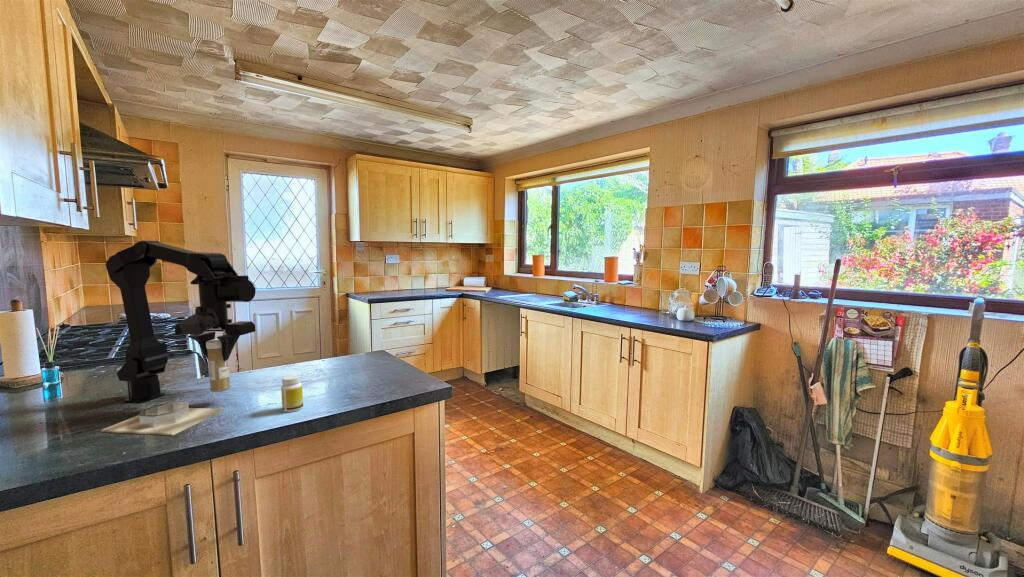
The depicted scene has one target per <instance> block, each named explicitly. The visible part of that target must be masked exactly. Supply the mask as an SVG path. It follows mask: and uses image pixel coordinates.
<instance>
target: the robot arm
mask: <svg viewBox="0 0 1024 577" xmlns="http://www.w3.org/2000/svg"><path fill="white" fill-rule="evenodd" d="M158 260H160V261H162V262H167V263H170V264H171V263H172V264H175V265H178V266H182V267H184V268H185V269H186V270H187V271H188V272H190V273H192V274H194V275H196V277H195V278H193V279H192V280H191V281H190V284H191V285H197V286H198V297H199V306H195V308H194V310H195V312H194V314H191V315H189V316H188V317H187V318H184V319H183V320H181V321H180V322H178V323H176V325H175V326H174V335H176V336H177V335H179V336H180V335H181V336H182V335H183V336H187V337H188V339H192V340H194V341H195V342H197V343H198V345H199V346H200V349H201V350H202V352H203V355H205V357H206V359H207V361H208V352H207V348H206V342H207V341H209V340H213V339H219V340H220V341H221V346H222V355H223V360H224V361H226V360H228V361H229V358H230V356H231V354H232V352H233V349H234V347H235V345H236V343H237V342H238V340H239V338H240V336H243V335H247V334H250V333H255V332H256V325H255V323H254V322H253V321H248V320H247V321H243V320H242V321H241V320H239V321H235V322H233V320H232V318H229V316H228V315H229V314H228V309H231V308H232V306H231V303H233V302H234V303H250V302H251V301H252V300H254V298H255V296H256V291H257V290H256V287H255V284H254V283H253V282H252V281H251V280H249V276H248V275H245V274H244V275H239V274H238V273H237V272H236V269H235V268H234V267H233V266H232V265H231V264H230V262H229V260H228V259H227V256H226V255H225V254H223V253H220V252H201V251H198V252H197V251H193V250H189V249H185V248H182V247H178V246H174V245H170V244H166V243H163V242H160V241H158V240H140V241H136V242H135V243H134V244H132V245H131V246H129V247H127V248H125V249H123V250H120V251H118V252H116V253H115V254H113V255H111V256H109V258H108V259H107V260H106V262H105V268H106V271H107V275H108V277H109V280H111V282H112V283H113V284H114V285H115V286H116V287H117V288H119V290H120V293H121V295H120V296H121V300H122V304H123V308H124V314H125V320H126V324H127V329H128V334H129V338H130V341H129V345H128V347H127V349H126V351H125V353H124V355H125V363H124V364H123V365H122V366H121V367H120V369H119V370H118V371H117V372H116V376H117V378H118V381H119V382H127V383H126V385H127V391H128V392H127V393H128V397H127V398H124V399H123V400H122V402H126V403H127V402H128V403H146V402H149V401H151V400H154V399H157V398H159V397H161V396H164V395H166V392H163V391H162V392H161V384H160V383H161V382H160V380H159V375H158V374H161V373H162V374H163V373H165V371H166V367H167V364H168V360H169V357H170V355H169V352H168V347H167V343H166V342H160V341H159V340H158V339H157V338H156V337H155V332H154V326H153V321H152V315H151V311H150V305H149V301H148V296H147V291H146V285H147V282H148V281H149V280H150V279H149V278H150V277H151V270H150V269H151V267H153V266H154V265H155V264H157V262H158ZM216 332H220V333H221V332H222V335H219V336H218V335H217V336H216Z"/></svg>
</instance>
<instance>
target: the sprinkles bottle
mask: <svg viewBox="0 0 1024 577" xmlns="http://www.w3.org/2000/svg"><path fill="white" fill-rule="evenodd" d="M206 348H207V352H208V360H207V365H208V377H209V385H210V388H209V391H210V392H212V393H221V392H225V391H227V390H229V389H230V388H231V384H230V383H231V382H230V370H229V369H230V368H229V367H230V366H229V359H228V360H226V361H224V360H223V355H222V346H221V341H220V340H219V339H218V338H215V339H213V340H209V341H207V342H206Z"/></svg>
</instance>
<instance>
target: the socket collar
mask: <svg viewBox="0 0 1024 577" xmlns="http://www.w3.org/2000/svg"><path fill="white" fill-rule="evenodd" d="M189 404H190V403H189V402H188V401H187V402H185V401H172V402H167V403H161V404H155V405H152V406H151V407H148V408H144V409H142V410H140V412H139V414H138V415H139V421H140V427H159V426H164V425H169V424H173V423H177V422H179V421H181V420H183V419H186V418H188V417H190V416H189V408H190V406H189Z"/></svg>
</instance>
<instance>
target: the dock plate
mask: <svg viewBox="0 0 1024 577" xmlns="http://www.w3.org/2000/svg"><path fill="white" fill-rule="evenodd" d="M223 411H224V409H221V408H203V407H201V408H200V407H199V408H197V407H189V416H190V417H188V418H186V419H183V420H181V421H179V422H177V423H173V424H169V425H164V426H159V427H140V421H139V415H140V414H138V415H136V416H132V417H130V418H128V419H125V420H123V421H120V422H118V423H115V424H112V425H110V426H108V427H105V428H103V429H101V430H100V431H101V433H102V432H103V433H117V434H118V433H120V434H139V435H140V434H141V435H143V434H144V435H158V436H159V435H160V436H174V435H177V434H178V433H181V432H182V431H185V430H187V429H189V428H191V427H192V426H195V425H197V424H199V423H202V422H203V421H205V420H208V419H210V418H211V417H214V416H215V415H217V414H219V413H221V412H223Z"/></svg>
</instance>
